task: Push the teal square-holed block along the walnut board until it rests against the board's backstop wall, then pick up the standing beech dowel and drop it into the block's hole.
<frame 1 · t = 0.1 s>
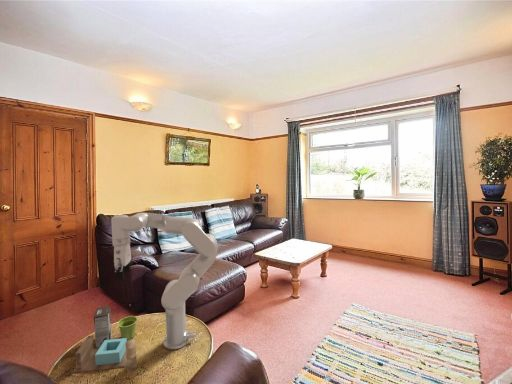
hand: (123, 275, 125), 37 cm above the table, tool pointing down, fingers open, 9 cm apart
plant pot: (128, 337, 135), on the table
backstop board: (106, 358, 120), on the table
coffee box: (104, 341, 132), on the table
dowel: (131, 367, 114), on the table
hole block: (111, 351, 120), point 3 cm above the table, slide at 5.0 cm
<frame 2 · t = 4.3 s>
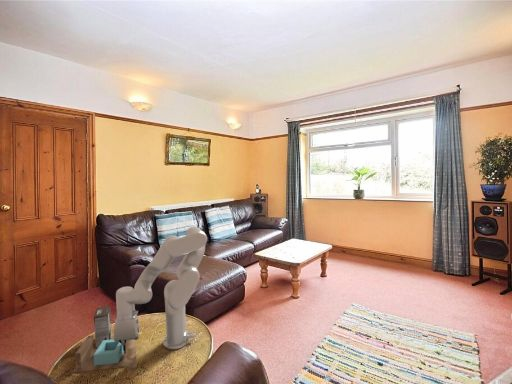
hand: (127, 351, 121), 2 cm above the table, tool pointing down, fingers closed
hole block: (110, 351, 120), point 3 cm above the table, slide at 4.4 cm, touching gripper
everything else where it was.
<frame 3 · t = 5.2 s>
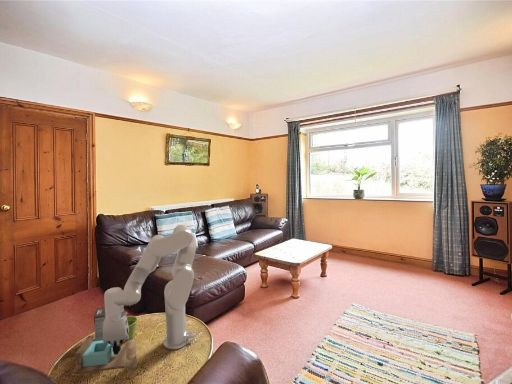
hand: (116, 352, 120), 2 cm above the table, tool pointing down, fingers closed
hole block: (99, 352, 119), point 3 cm above the table, slide at -0.2 cm, touching gripper
everything else where it was.
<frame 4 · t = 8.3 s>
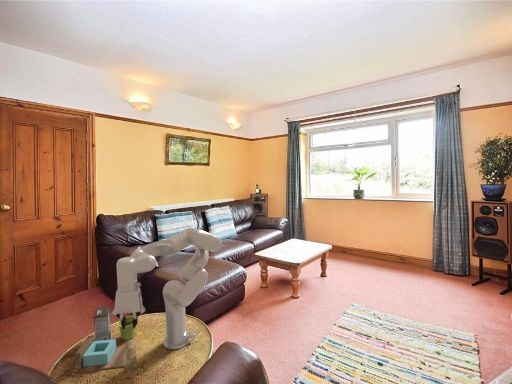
hand: (129, 326, 112), 19 cm above the table, tool pointing down, fingers open, 3 cm apart
hole block: (100, 352, 119), point 3 cm above the table, slide at 0.0 cm
everything else where it was.
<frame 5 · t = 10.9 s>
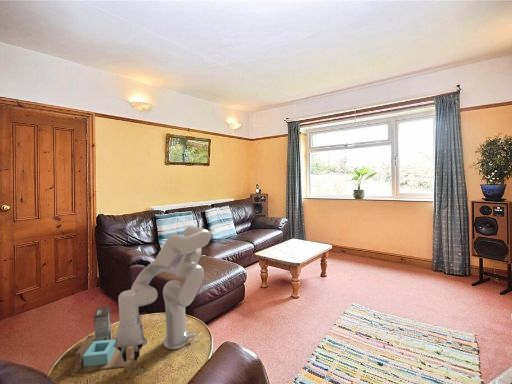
hand: (131, 358, 114), 4 cm above the table, tool pointing down, fingers closed on dowel, 4 cm apart
dowel: (131, 367, 114), on the table, touching gripper
everything else where it was.
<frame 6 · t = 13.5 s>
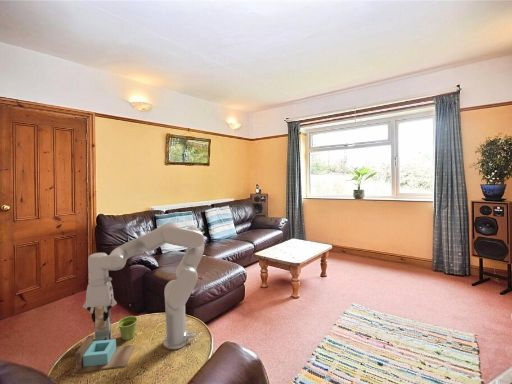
hand: (100, 319, 117), 20 cm above the table, tool pointing down, fingers closed on dowel, 4 cm apart
dowel: (100, 328, 117), point 15 cm above the table, touching gripper
everything else where it was.
when the fingers open (7 cm above the table, at t = 16.3 s): dowel drops 2 cm, resting on backstop board.
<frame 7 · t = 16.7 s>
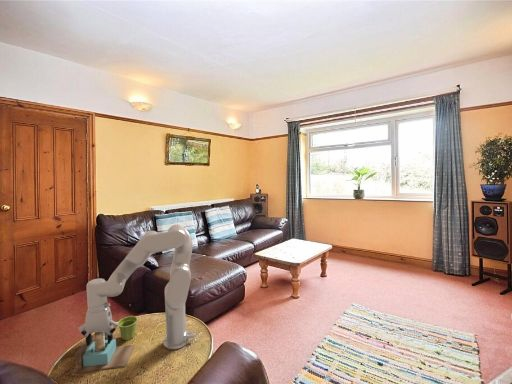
hand: (99, 342, 119), 8 cm above the table, tool pointing down, fingers open, 8 cm apart
dowel: (100, 357, 119), point 1 cm above the table, touching backstop board
everything else where it was.
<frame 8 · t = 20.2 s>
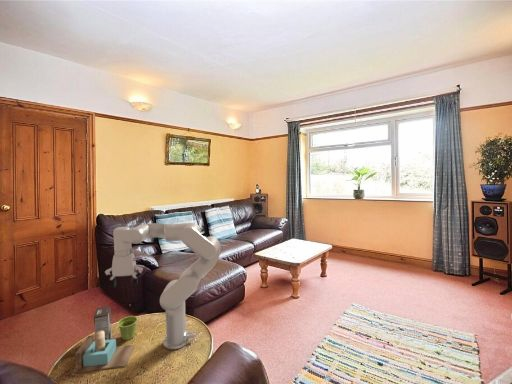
hand: (125, 286, 127), 30 cm above the table, tool pointing down, fingers open, 9 cm apart
nothing on the table moved.
at the end: hole block slide at 0.0 cm; dowel 0.1 cm off-centre on the hole block, point 0.6 cm above the hole block's base; dowel tilted 0° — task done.
